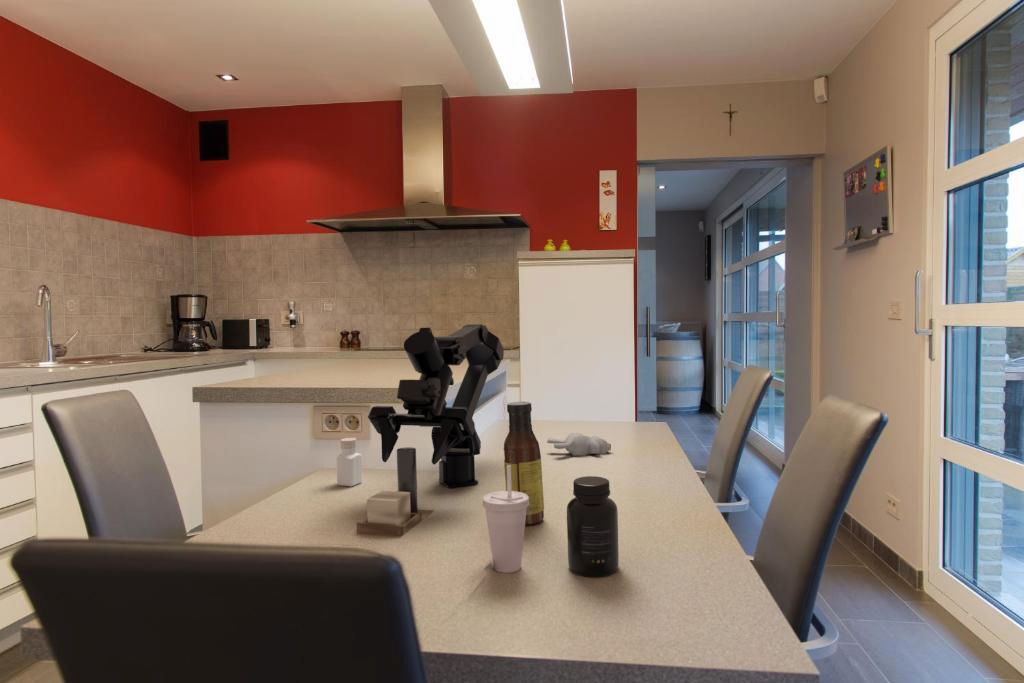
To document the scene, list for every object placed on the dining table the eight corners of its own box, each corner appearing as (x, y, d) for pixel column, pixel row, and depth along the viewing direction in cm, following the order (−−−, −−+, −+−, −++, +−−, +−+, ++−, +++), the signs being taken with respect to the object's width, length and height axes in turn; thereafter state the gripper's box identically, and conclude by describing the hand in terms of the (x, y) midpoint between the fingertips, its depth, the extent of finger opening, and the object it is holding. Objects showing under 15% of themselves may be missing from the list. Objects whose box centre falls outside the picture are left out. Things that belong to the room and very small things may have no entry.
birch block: (383, 520, 102) (382, 490, 101) (410, 522, 100) (409, 492, 100) (368, 530, 97) (367, 499, 97) (397, 533, 95) (396, 501, 95)
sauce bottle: (548, 516, 105) (546, 400, 105) (538, 528, 100) (535, 405, 99) (512, 513, 108) (509, 399, 107) (500, 524, 102) (497, 404, 101)
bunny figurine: (616, 440, 149) (557, 436, 146) (614, 461, 150) (555, 458, 146) (601, 433, 159) (546, 429, 155) (599, 452, 159) (544, 450, 155)
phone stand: (394, 513, 109) (392, 445, 108) (434, 516, 106) (432, 447, 106) (357, 539, 96) (354, 462, 96) (401, 542, 94) (399, 464, 94)
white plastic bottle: (336, 486, 128) (334, 440, 128) (348, 481, 132) (346, 436, 131) (352, 487, 127) (350, 441, 126) (363, 482, 130) (362, 437, 130)
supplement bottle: (563, 559, 86) (562, 474, 86) (611, 556, 87) (610, 472, 87) (572, 580, 80) (571, 488, 79) (624, 577, 80) (623, 485, 80)
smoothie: (526, 578, 81) (523, 472, 80) (478, 575, 82) (475, 470, 81) (534, 559, 87) (532, 460, 86) (490, 556, 88) (487, 459, 88)
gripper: (371, 362, 112) (340, 433, 102) (467, 361, 107) (445, 437, 97) (392, 399, 120) (366, 469, 110) (483, 400, 115) (464, 474, 105)
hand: (408, 462), depth 105 cm, fingers open, 9 cm apart
